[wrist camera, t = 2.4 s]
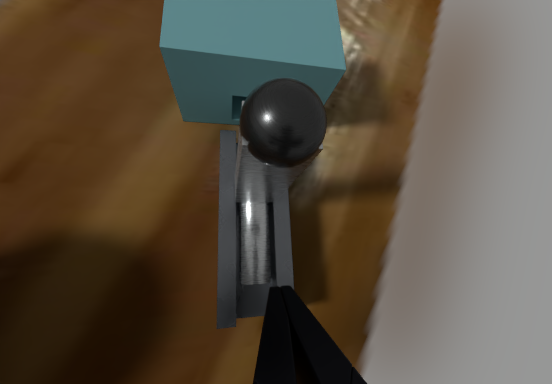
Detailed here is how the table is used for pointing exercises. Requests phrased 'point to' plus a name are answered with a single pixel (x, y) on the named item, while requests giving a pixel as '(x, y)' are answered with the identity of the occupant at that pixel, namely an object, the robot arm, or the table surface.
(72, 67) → the table surface
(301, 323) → the robot arm
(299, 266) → the table surface
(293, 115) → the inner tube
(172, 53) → the socket block
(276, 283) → the outer sleeve
